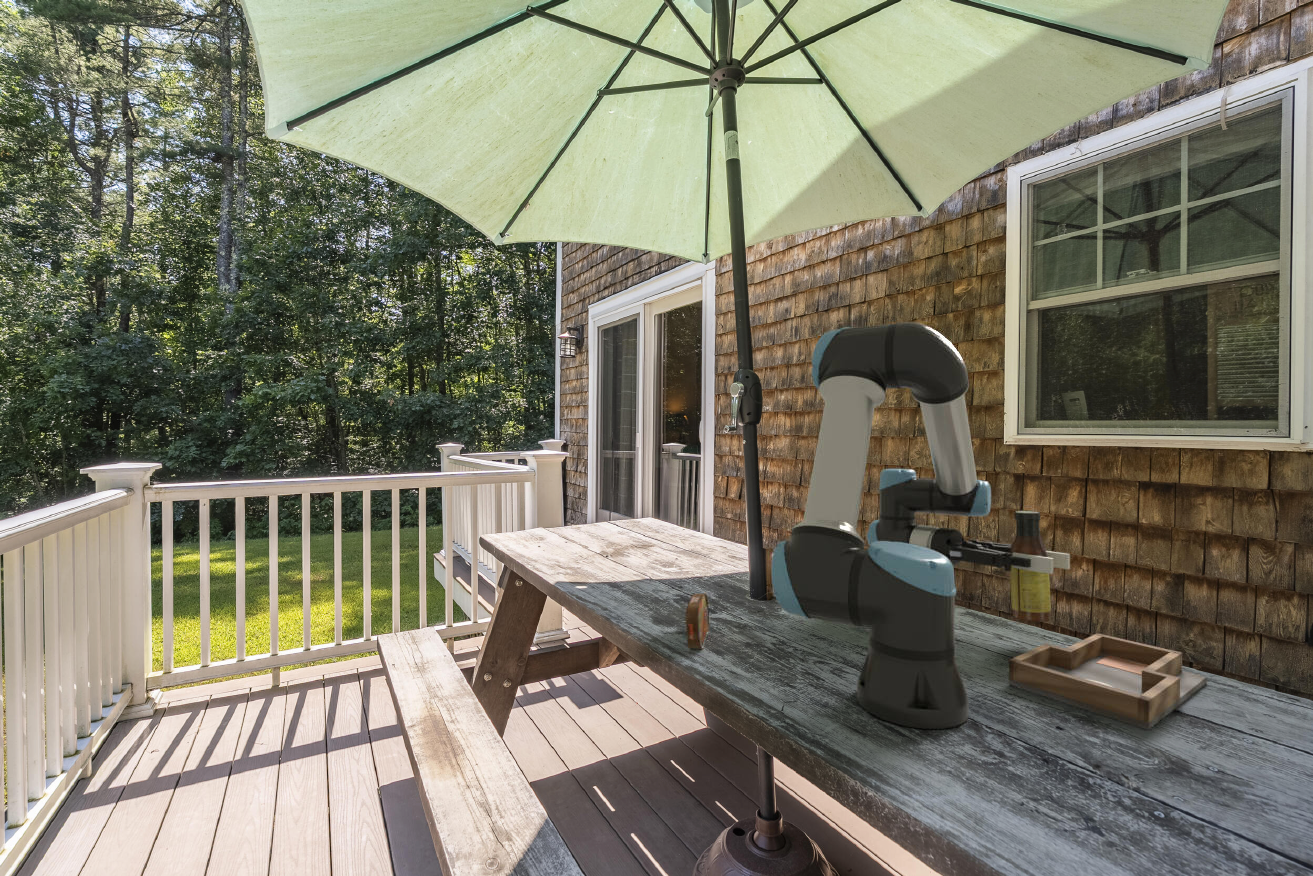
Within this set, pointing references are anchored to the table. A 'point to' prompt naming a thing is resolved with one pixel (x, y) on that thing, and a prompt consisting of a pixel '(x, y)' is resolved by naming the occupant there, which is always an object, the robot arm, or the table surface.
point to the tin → (697, 620)
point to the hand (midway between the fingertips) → (1060, 563)
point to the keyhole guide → (1108, 678)
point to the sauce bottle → (1029, 572)
